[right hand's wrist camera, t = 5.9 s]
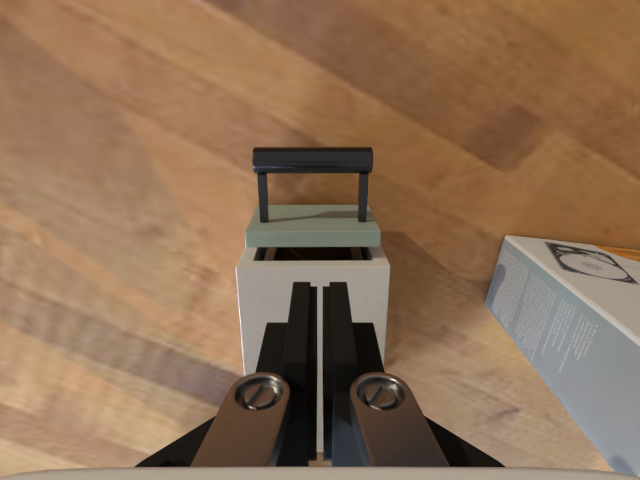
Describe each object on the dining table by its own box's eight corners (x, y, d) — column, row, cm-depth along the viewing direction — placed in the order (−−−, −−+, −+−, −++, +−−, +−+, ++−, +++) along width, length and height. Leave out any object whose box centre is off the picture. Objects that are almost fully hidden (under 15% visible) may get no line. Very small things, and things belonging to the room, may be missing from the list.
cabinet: (253, 225, 36) (235, 266, 27) (373, 224, 36) (391, 265, 28) (263, 380, 42) (250, 453, 33) (365, 379, 42) (378, 451, 33)
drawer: (254, 139, 32) (239, 152, 26) (371, 139, 32) (386, 151, 26) (266, 357, 40) (256, 409, 33) (362, 357, 40) (371, 408, 33)
